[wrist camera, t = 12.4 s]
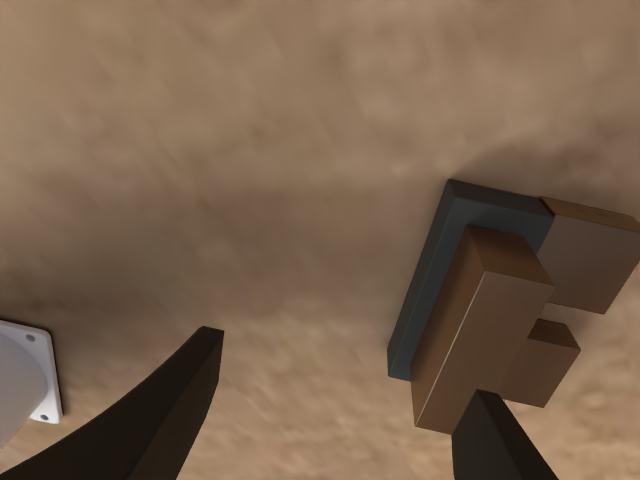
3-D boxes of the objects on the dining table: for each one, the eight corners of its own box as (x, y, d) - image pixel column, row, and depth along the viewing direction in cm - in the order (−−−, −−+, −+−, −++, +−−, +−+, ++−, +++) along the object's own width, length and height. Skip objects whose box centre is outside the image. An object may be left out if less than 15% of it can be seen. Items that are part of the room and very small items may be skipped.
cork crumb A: (459, 365, 24) (465, 391, 22) (487, 307, 22) (496, 331, 20) (532, 381, 24) (543, 408, 22) (566, 324, 22) (581, 350, 20)
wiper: (386, 349, 24) (389, 437, 19) (447, 178, 19) (472, 239, 14) (459, 365, 24) (480, 459, 19) (539, 198, 19) (595, 266, 14)
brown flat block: (503, 272, 21) (514, 295, 19) (540, 196, 19) (555, 213, 17) (587, 291, 21) (604, 315, 19) (632, 216, 19) (656, 235, 17)
